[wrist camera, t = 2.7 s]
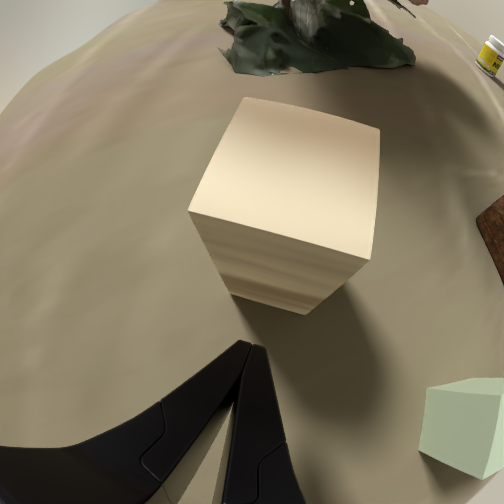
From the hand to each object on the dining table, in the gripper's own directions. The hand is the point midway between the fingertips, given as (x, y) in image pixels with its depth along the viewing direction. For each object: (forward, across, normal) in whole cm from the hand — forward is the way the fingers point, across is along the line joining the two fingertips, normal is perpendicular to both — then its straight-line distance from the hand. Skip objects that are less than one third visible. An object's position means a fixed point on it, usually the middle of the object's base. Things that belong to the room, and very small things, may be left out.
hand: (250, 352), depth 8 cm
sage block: (+4, -14, +6) cm, 16 cm away
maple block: (+9, 0, +2) cm, 9 cm away
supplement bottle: (+43, -30, -32) cm, 62 cm away
